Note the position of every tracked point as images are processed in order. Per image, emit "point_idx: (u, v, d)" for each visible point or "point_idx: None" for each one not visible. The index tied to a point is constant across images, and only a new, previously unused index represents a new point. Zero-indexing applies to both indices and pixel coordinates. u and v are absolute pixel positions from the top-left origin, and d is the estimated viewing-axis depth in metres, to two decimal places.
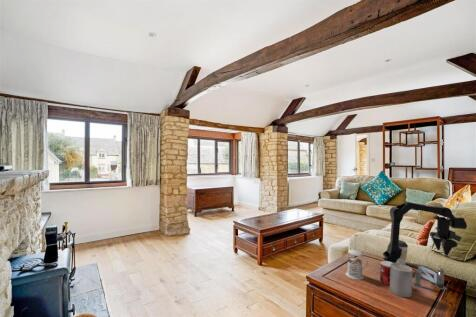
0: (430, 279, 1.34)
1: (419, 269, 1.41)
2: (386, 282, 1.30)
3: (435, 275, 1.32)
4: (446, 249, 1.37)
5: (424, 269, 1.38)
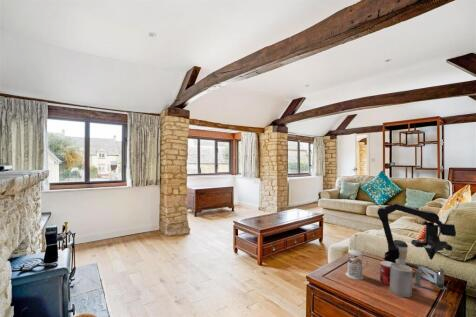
0: (430, 279, 1.34)
1: (419, 269, 1.41)
2: (386, 282, 1.30)
3: (435, 275, 1.32)
4: (427, 251, 1.40)
5: (424, 269, 1.38)
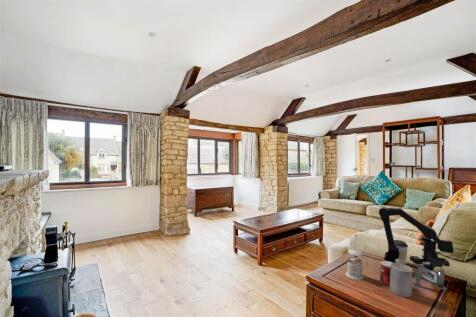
0: (430, 279, 1.34)
1: (419, 269, 1.41)
2: (386, 282, 1.30)
3: (435, 275, 1.32)
4: (425, 267, 1.40)
5: (424, 269, 1.38)
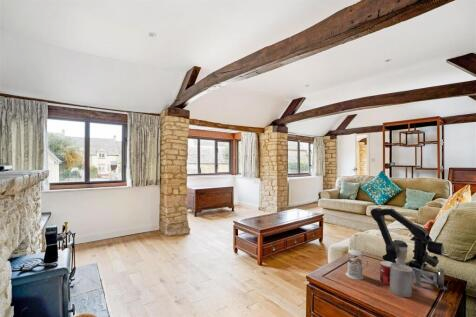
0: (428, 281, 1.32)
1: (414, 272, 1.37)
2: (386, 282, 1.30)
3: (435, 276, 1.31)
4: None
5: (420, 271, 1.35)
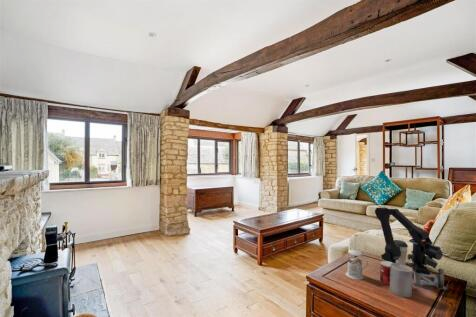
0: (430, 283, 1.30)
1: None
2: (386, 282, 1.30)
3: (436, 277, 1.30)
4: None
5: (423, 274, 1.31)
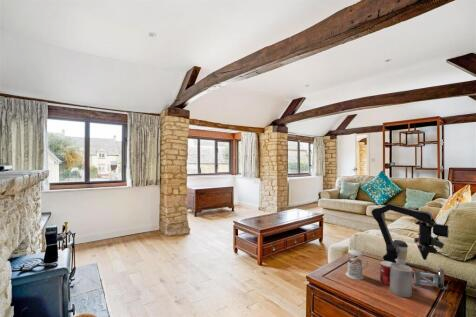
0: (430, 283, 1.30)
1: None
2: (386, 282, 1.30)
3: (436, 277, 1.30)
4: (424, 253, 1.36)
5: (423, 274, 1.31)
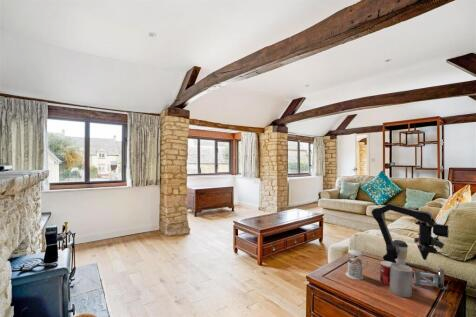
0: (430, 283, 1.30)
1: None
2: (386, 282, 1.30)
3: (436, 277, 1.30)
4: (424, 253, 1.36)
5: (423, 274, 1.31)
